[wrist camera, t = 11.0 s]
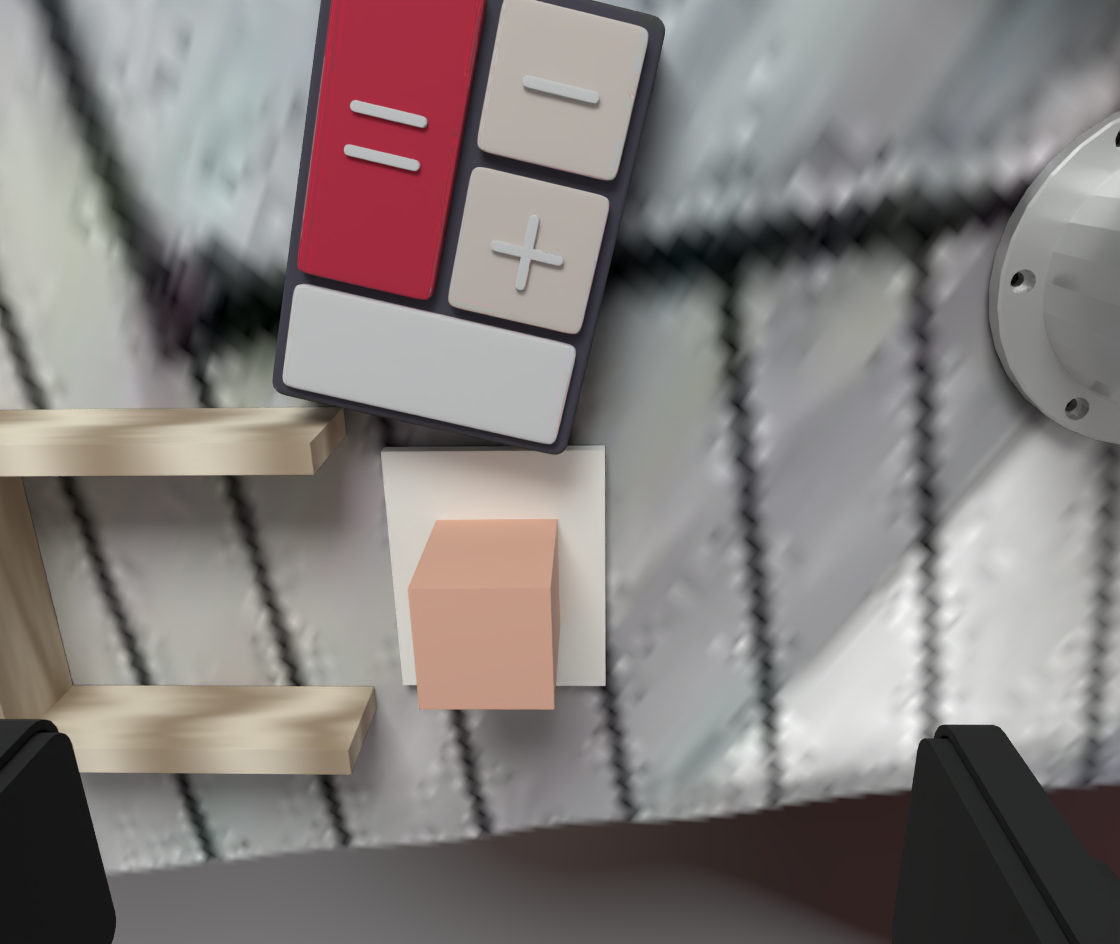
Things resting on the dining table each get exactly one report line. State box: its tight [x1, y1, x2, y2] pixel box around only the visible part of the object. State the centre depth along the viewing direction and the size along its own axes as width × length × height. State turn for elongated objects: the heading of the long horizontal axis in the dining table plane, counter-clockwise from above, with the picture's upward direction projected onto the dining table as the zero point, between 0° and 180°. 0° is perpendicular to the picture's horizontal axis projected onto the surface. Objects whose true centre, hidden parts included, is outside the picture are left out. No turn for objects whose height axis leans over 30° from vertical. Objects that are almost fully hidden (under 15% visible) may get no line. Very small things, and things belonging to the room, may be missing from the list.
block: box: [408, 519, 560, 709], centre depth 35 cm, size 5×5×6 cm
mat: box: [381, 445, 605, 686], centre depth 38 cm, size 9×11×1 cm
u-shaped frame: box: [0, 407, 376, 775], centre depth 37 cm, size 15×14×4 cm
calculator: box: [273, 0, 665, 455], centre depth 32 cm, size 11×4×15 cm
